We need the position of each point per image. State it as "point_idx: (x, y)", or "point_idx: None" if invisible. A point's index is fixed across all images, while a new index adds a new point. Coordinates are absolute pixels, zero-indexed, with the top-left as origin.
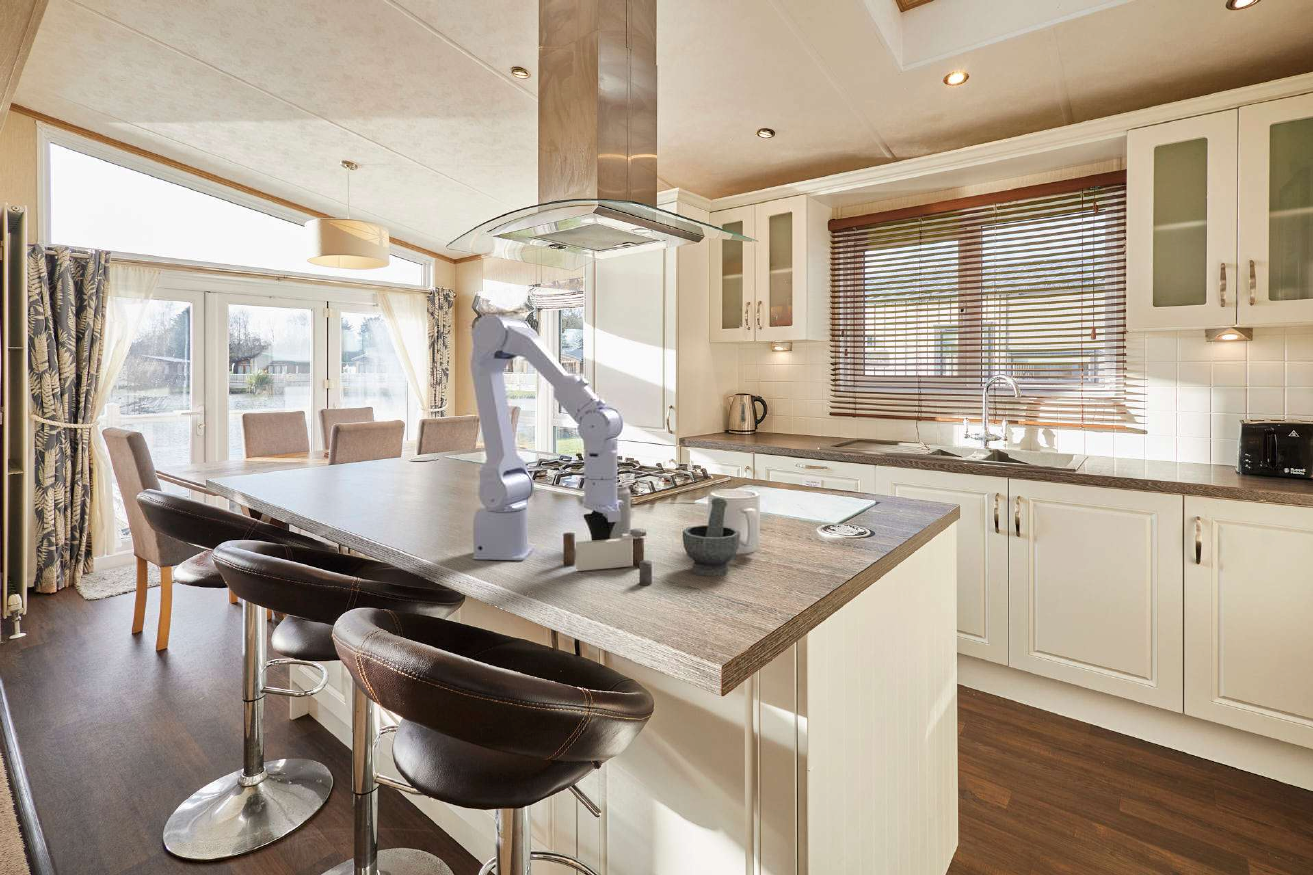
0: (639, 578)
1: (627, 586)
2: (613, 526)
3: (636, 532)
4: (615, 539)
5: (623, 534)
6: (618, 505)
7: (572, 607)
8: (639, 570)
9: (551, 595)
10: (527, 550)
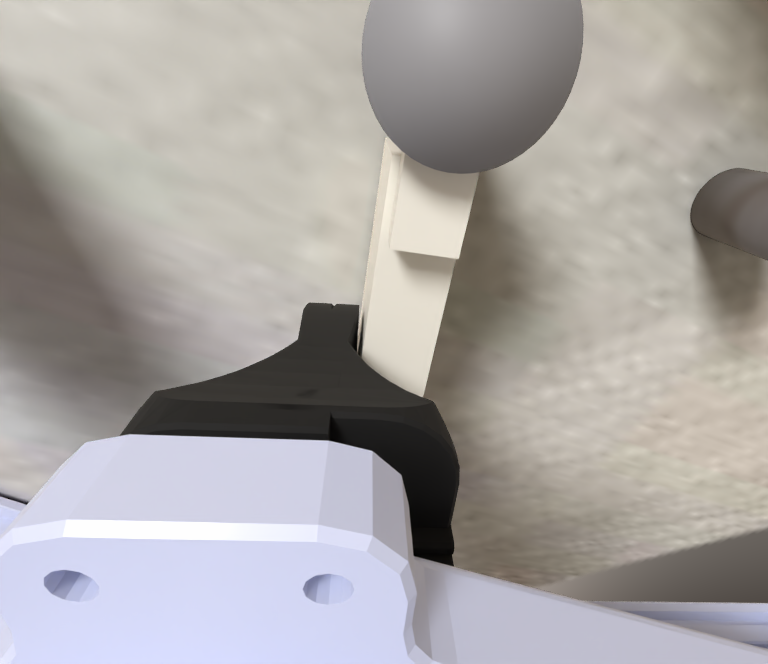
0: (722, 242)
1: (689, 303)
2: (388, 381)
3: (541, 132)
4: (394, 303)
5: (409, 243)
6: (429, 579)
7: (713, 524)
8: (758, 256)
9: (572, 543)
10: (12, 518)
